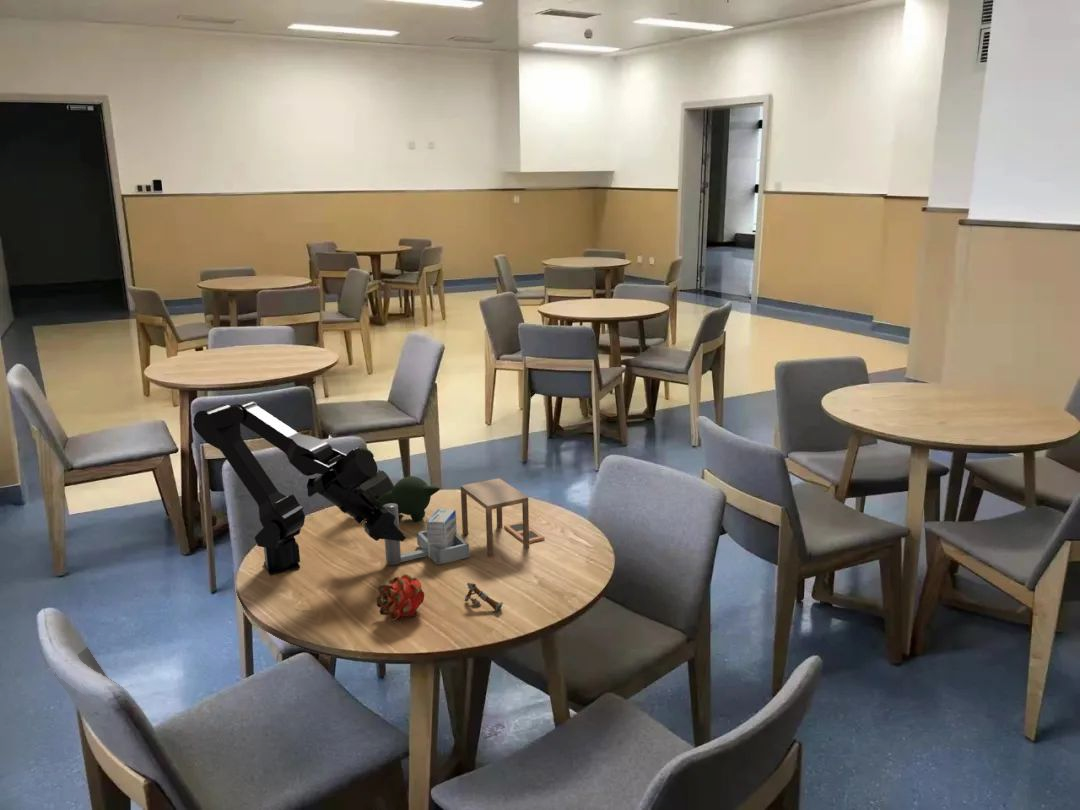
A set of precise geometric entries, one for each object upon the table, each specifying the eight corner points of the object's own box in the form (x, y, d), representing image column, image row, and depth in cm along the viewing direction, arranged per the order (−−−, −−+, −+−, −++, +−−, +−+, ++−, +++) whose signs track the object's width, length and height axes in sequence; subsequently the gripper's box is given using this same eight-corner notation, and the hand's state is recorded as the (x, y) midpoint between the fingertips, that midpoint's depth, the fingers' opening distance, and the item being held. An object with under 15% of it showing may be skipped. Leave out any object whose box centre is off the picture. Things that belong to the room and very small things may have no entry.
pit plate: (525, 544, 186) (525, 541, 186) (504, 527, 196) (504, 525, 196) (544, 539, 189) (544, 536, 189) (522, 523, 198) (522, 520, 198)
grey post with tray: (395, 574, 172) (391, 516, 168) (378, 553, 182) (374, 498, 179) (469, 556, 179) (467, 501, 176) (448, 537, 190) (446, 484, 186)
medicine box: (447, 559, 179) (445, 522, 176) (427, 558, 180) (425, 521, 177) (457, 544, 186) (456, 509, 184) (439, 543, 187) (437, 508, 185)
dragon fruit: (383, 638, 151) (411, 615, 162) (418, 617, 148) (443, 595, 160) (359, 599, 151) (388, 579, 163) (393, 577, 149) (420, 558, 160)
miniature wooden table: (489, 556, 180) (487, 505, 177) (462, 533, 193) (460, 485, 190) (529, 547, 185) (528, 497, 182) (500, 524, 197) (499, 478, 194)
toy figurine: (343, 527, 202) (436, 528, 195) (331, 454, 198) (425, 452, 190) (361, 513, 211) (451, 513, 203) (350, 442, 206) (441, 440, 199)
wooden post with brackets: (464, 595, 161) (471, 578, 160) (496, 618, 159) (503, 601, 157) (459, 599, 160) (466, 582, 158) (491, 623, 157) (498, 605, 155)
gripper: (382, 475, 162) (437, 516, 170) (355, 451, 178) (406, 489, 186) (346, 520, 160) (403, 560, 168) (322, 491, 176) (375, 528, 184)
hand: (397, 532), depth 176 cm, fingers open, 8 cm apart
